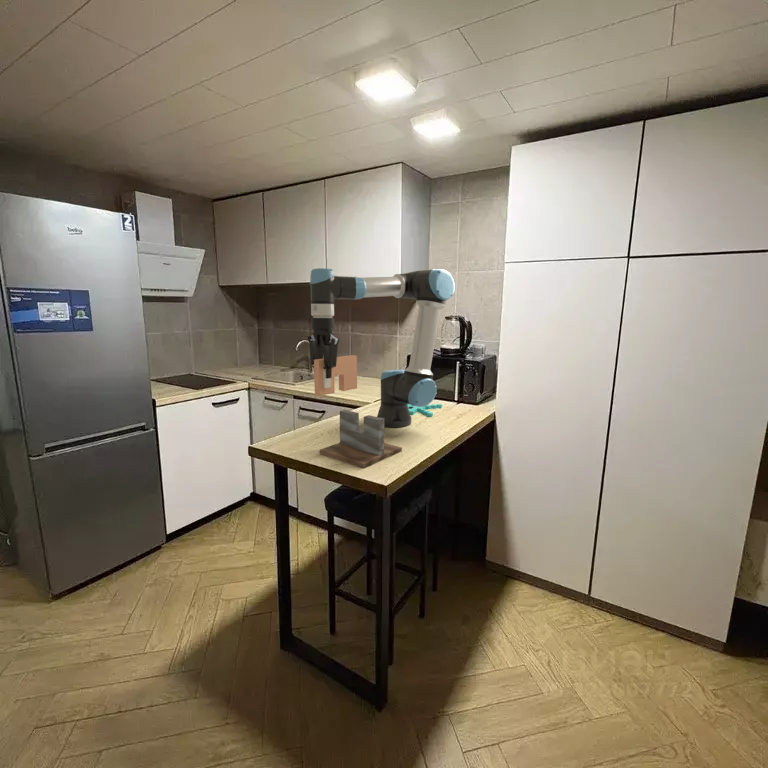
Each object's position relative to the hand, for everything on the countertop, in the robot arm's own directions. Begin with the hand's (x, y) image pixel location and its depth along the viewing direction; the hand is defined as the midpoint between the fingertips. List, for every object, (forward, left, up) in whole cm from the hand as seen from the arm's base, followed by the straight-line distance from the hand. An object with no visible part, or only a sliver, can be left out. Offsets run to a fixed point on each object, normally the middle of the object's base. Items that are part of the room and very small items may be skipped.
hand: (323, 386), depth 142 cm
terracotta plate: (-6, 0, -3) cm, 7 cm away
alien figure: (-68, -7, -23) cm, 72 cm away
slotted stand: (-6, +12, -23) cm, 26 cm away
